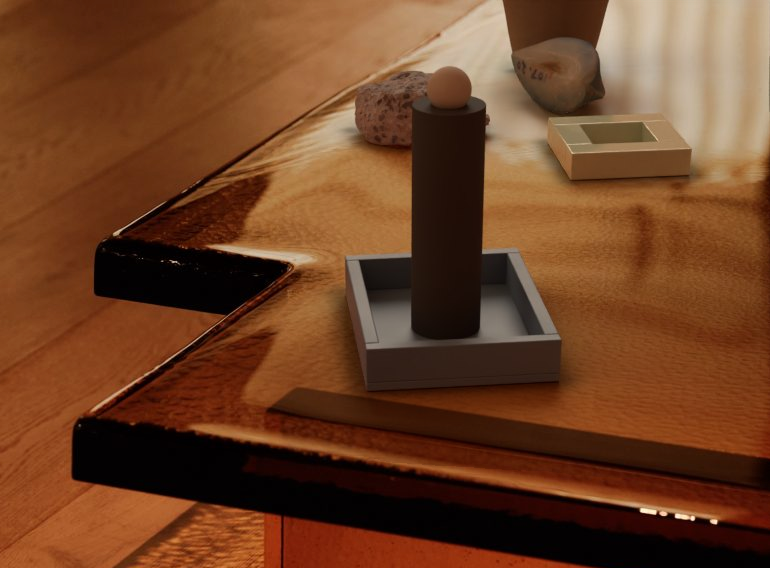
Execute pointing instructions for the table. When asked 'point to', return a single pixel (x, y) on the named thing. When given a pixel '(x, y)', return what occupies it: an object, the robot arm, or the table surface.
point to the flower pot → (553, 20)
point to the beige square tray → (618, 146)
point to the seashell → (560, 73)
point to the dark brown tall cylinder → (447, 207)
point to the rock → (390, 107)
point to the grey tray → (455, 356)
